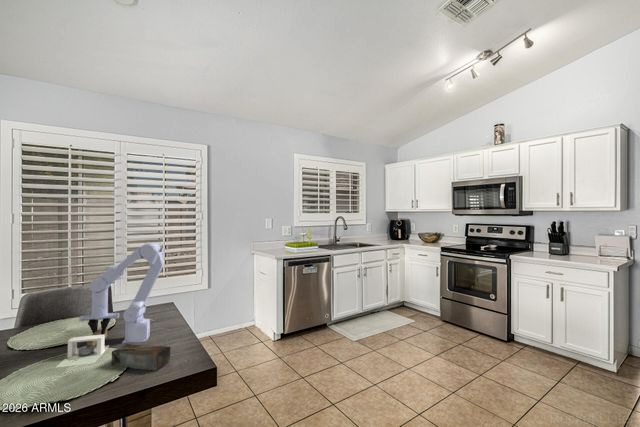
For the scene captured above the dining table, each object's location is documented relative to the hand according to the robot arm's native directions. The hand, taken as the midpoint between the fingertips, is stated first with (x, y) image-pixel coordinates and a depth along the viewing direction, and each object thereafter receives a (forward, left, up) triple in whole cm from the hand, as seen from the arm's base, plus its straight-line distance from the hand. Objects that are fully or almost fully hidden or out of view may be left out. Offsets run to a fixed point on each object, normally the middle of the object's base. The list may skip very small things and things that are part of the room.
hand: (99, 336), depth 136 cm
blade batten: (0, +2, -2) cm, 3 cm away
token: (0, +13, -2) cm, 14 cm away
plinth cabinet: (0, +13, -3) cm, 14 cm away
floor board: (0, +14, -3) cm, 15 cm away
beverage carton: (-22, +28, -3) cm, 36 cm away
